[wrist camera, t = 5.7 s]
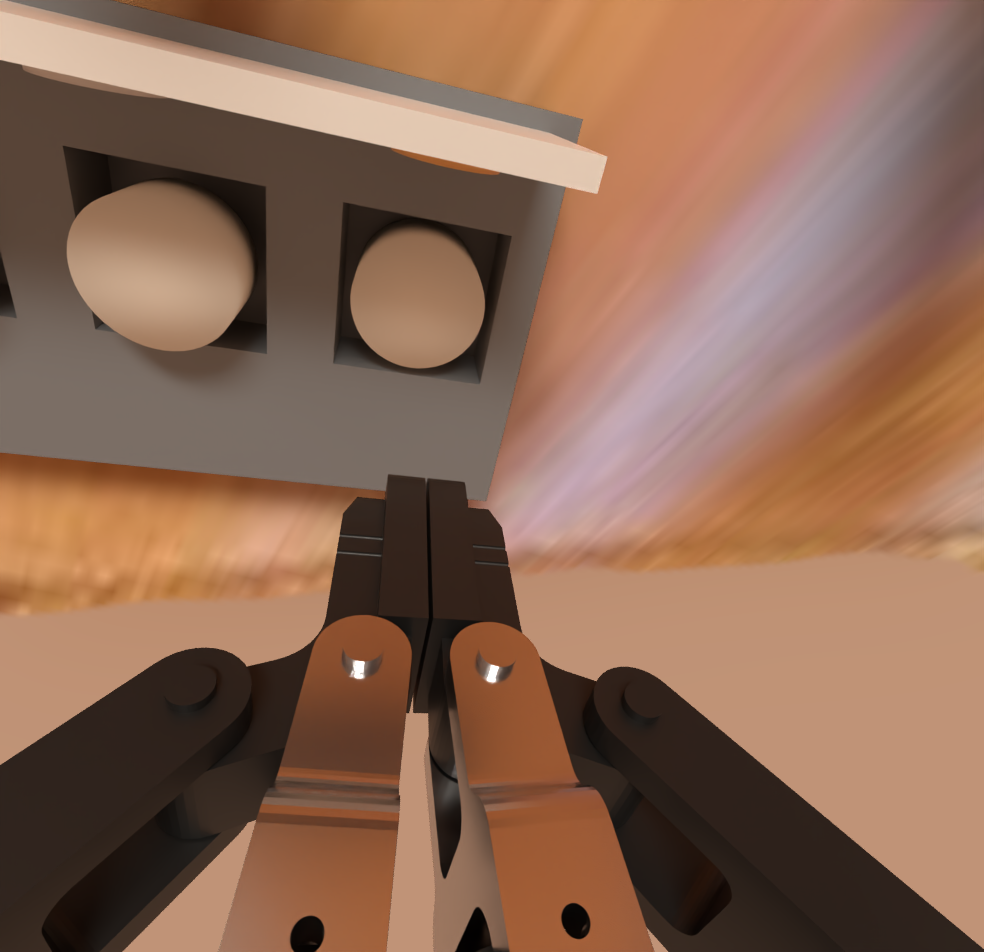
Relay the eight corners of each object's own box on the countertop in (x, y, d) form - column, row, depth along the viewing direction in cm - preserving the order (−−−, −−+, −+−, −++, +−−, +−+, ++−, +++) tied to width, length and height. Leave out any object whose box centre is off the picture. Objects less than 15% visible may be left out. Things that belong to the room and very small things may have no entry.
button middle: (257, 194, 20) (235, 210, 18) (258, 330, 23) (240, 361, 20) (97, 162, 19) (51, 175, 17) (119, 309, 22) (82, 339, 19)
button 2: (488, 232, 23) (497, 250, 21) (466, 348, 26) (471, 376, 23) (362, 206, 22) (355, 223, 20) (352, 330, 25) (345, 358, 22)
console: (557, 112, 22) (655, 138, 13) (478, 456, 31) (505, 611, 22) (-281, -99, 17) (-1072, -298, 8) (-93, 389, 25) (-367, 559, 17)
